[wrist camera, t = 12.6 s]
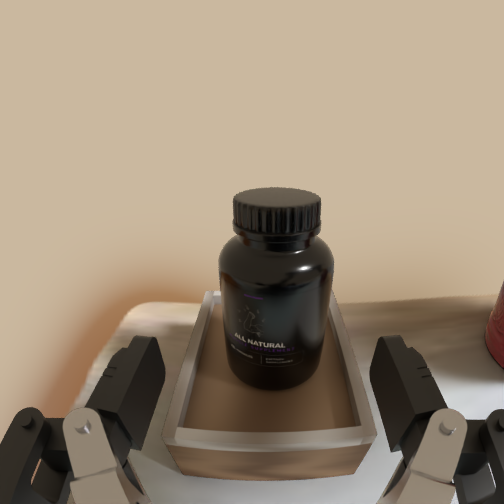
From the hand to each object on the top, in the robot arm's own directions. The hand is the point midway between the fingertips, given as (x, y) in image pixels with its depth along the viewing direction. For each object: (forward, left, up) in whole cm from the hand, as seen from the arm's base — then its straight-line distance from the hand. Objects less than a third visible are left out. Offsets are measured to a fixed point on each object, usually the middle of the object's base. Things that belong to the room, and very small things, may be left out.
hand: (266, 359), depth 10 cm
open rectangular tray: (0, -8, -13) cm, 16 cm away
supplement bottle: (0, -8, -8) cm, 12 cm away
